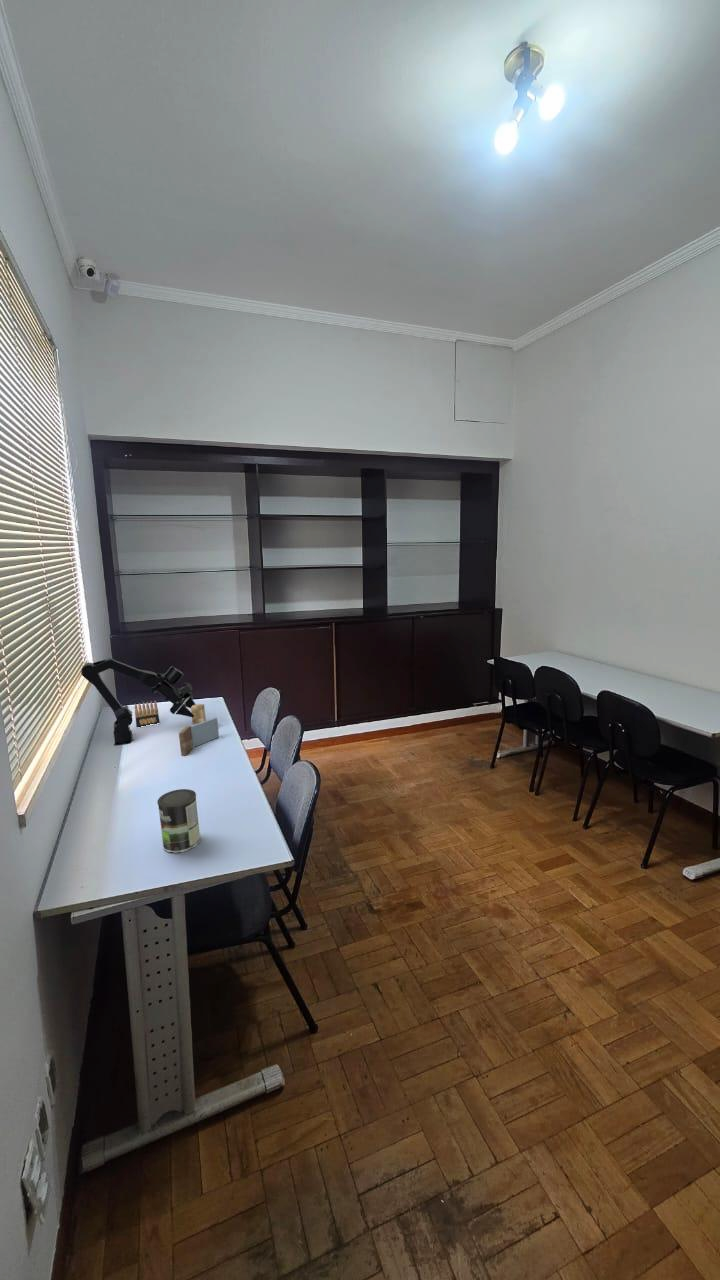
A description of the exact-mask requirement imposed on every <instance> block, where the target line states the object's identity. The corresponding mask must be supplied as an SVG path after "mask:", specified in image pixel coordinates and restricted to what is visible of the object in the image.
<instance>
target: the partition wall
mask: <svg viewBox="0 0 720 1280" xmlns="http://www.w3.org/2000/svg"><path fill="white" fill-rule="evenodd" d="M191 726H192V725H186V726H184V728H182V729H181V730H180V731H179V732H178V737H179V738H178V739H179V746H180V754H181V755H180V756H181V757H186V756H187V755H189V754H190V752H192V751H193V750H194V747H193V741H192V732H191Z"/></svg>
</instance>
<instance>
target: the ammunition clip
mask: <svg viewBox="0 0 720 1280" xmlns="http://www.w3.org/2000/svg"><path fill="white" fill-rule="evenodd" d="M149 703H150V704H149ZM134 717H135V718H134V719H135V726H136V727H140V728H142V727H141V726H146V725H150V724H157V723H160V715H159V709H158V703H157V701H156V700H154V703H153V701H152V700H151V701H149V702H148V701H146V704H145V702H142V704H141V703H140V702H139V703H138V705H137V703H134ZM160 724H161V723H160ZM146 727H147V726H146Z"/></svg>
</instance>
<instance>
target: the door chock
mask: <svg viewBox="0 0 720 1280" xmlns="http://www.w3.org/2000/svg"><path fill="white" fill-rule="evenodd" d="M190 712H191V713H192V714H193V715H194V717H191V719H192V721H191V722H192V725H195V724H198V723H201V722H204V721H207V719H206V709H205V703H203V704H202V703H201V704H199V703H198V704H196V705H193V706H192V707H191V708H190Z"/></svg>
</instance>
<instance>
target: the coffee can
mask: <svg viewBox="0 0 720 1280" xmlns="http://www.w3.org/2000/svg"><path fill="white" fill-rule="evenodd" d="M197 804H198V803H197V793H196V792H195V791H194V790H192V789H188V788H180V789H176V790H175V789H173V790H171V791H168V792H166V793H164V794H162V795H161V796H159V798H158V799H157V805H158V813H159V820H160V822H159V823H160V830H161V838H162V848H164V849H163V851H165V850H166V851H165V852H167V851H168V852H167V853H169V852H173V853H172V854H179V853H178V852H181V853H185V852H188V851H190V850H189V849H191V848H192V849H194V848H196V847H197V846H198V845H199V844H200V842H201V832H200V826H199V825H200V823H199V817H198V807H197V806H198V805H197ZM198 843H199V844H198ZM197 844H198V845H197ZM196 845H197V846H196ZM195 846H196V847H195ZM193 847H194V848H193ZM192 849H191V850H192ZM187 850H188V851H187ZM184 851H185V852H184Z"/></svg>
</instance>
